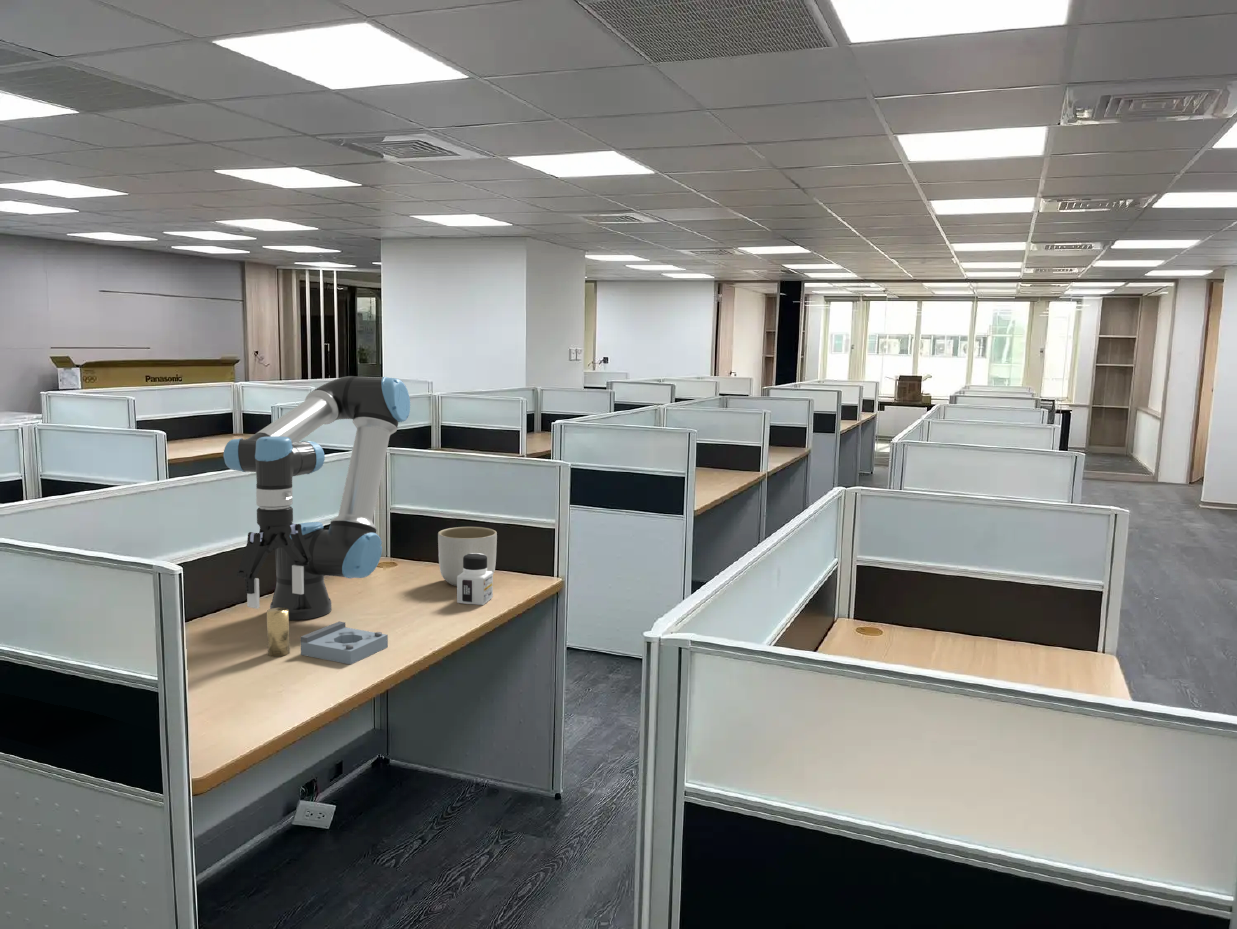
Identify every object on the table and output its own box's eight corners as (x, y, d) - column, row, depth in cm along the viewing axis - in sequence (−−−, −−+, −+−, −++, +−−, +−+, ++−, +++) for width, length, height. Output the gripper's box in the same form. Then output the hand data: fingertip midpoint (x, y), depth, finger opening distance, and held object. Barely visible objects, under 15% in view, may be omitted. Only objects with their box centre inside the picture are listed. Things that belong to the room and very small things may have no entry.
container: (483, 605, 250) (483, 558, 248) (456, 603, 251) (456, 556, 250) (493, 598, 257) (493, 552, 256) (466, 596, 259) (466, 550, 257)
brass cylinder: (263, 655, 207) (262, 611, 206) (278, 649, 212) (277, 606, 210) (279, 658, 206) (278, 614, 204) (294, 652, 210) (293, 609, 208)
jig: (300, 654, 208) (300, 636, 207) (339, 638, 220) (339, 621, 219) (350, 664, 203) (350, 646, 202) (387, 647, 214) (387, 629, 214)
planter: (508, 581, 276) (508, 531, 274) (471, 593, 261) (471, 541, 259) (463, 572, 284) (463, 524, 282) (426, 584, 270) (425, 533, 268)
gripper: (244, 516, 191) (246, 616, 194) (326, 500, 214) (327, 590, 217) (217, 513, 194) (219, 611, 197) (301, 497, 217) (302, 586, 219)
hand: (276, 600), depth 207 cm, fingers open, 13 cm apart
